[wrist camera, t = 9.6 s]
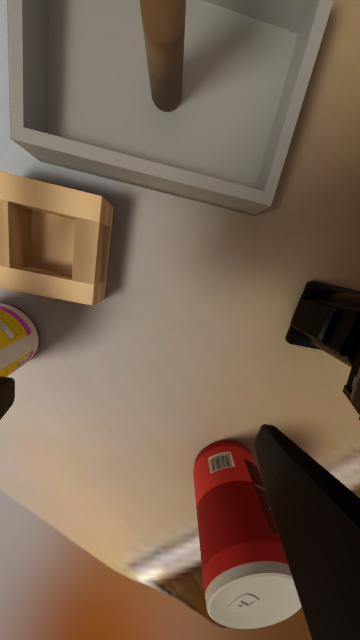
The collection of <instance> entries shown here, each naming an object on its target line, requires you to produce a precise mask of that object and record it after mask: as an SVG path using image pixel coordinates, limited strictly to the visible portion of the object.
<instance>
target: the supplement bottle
mask: <svg viewBox="0 0 360 640" xmlns="http://www.w3.org/2000/svg"><path fill="white" fill-rule="evenodd" d="M38 343H39V339H38V333H37V330H36V328H35V326H34V324H33V323H32V321H31V320H30V319H29V318H28V317H27V316H26V315H25V314H24V313H23V312H21V311H20V310H18V309H16V308H14V307H12V306H10V305H6V304H2V303H0V376H4V377H7V376H8V375H10V374H11V373H12V372H14V371H15V370H17V369H18V368H20V367H21V366H22V365H24V364H25V363H26V362H28V361H29V360H30V359H31V358H32V357H33V356H34V354H35V353H36V351H37V348H38Z"/></svg>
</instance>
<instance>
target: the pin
mask: <svg viewBox="0 0 360 640" xmlns="http://www.w3.org/2000/svg"><path fill="white" fill-rule="evenodd" d="M140 8H141V16H142V24H143V32H144V40H145V48H146V56H147V64H148V72H149V80H150V88H151V95H152V99H153V102H154V104H155V105H156V107H157V108H159V109H160V110H162V111H165V112H170V111H172V110H174V109H175V108H177V106H178V105H179V103H180V101H181V97H182V80H183V59H184V38H185V17H186V0H140Z"/></svg>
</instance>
